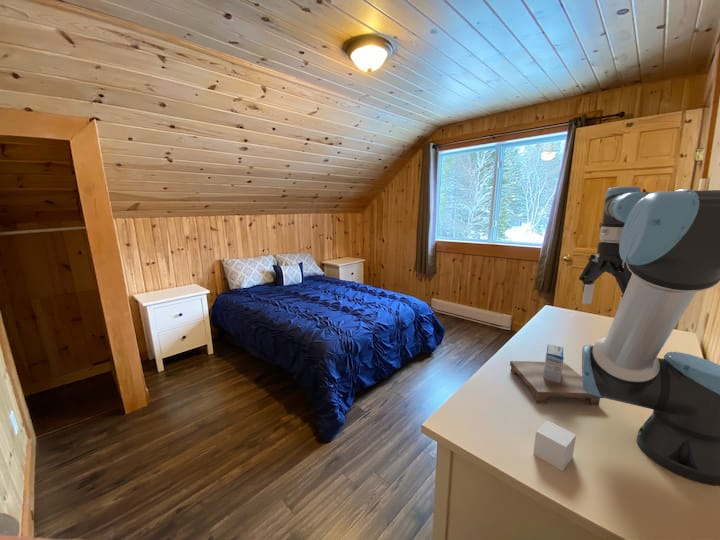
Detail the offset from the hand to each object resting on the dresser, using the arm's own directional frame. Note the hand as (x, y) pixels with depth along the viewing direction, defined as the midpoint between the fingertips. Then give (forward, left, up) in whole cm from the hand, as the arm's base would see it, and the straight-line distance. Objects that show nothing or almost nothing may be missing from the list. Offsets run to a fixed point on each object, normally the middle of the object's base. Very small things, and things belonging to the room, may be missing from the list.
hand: (603, 310), depth 94 cm
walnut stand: (-3, +14, -25) cm, 29 cm away
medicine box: (-2, +14, -21) cm, 25 cm away
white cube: (-31, +29, -25) cm, 49 cm away
